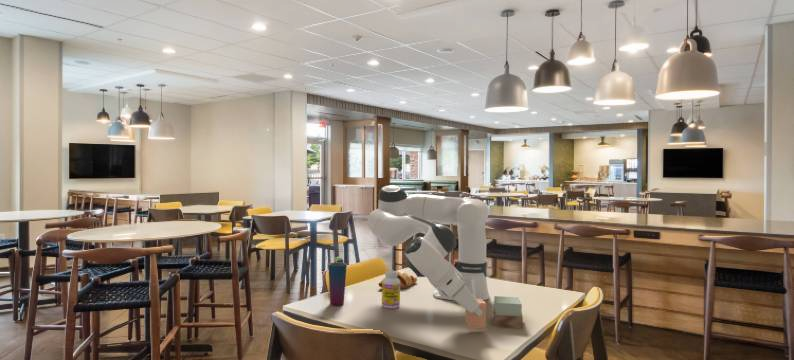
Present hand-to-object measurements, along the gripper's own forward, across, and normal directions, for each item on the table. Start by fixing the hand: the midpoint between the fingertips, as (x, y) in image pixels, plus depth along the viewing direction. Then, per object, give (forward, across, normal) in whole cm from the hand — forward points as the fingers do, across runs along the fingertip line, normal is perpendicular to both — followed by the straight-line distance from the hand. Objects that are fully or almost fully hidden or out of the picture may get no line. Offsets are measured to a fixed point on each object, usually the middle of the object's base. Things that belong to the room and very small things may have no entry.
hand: (477, 310), depth 140 cm
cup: (-27, -32, -36) cm, 55 cm away
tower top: (+11, -8, +7) cm, 15 cm away
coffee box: (-26, -53, -36) cm, 70 cm away
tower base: (+14, -8, +4) cm, 16 cm away
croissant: (-8, -56, -18) cm, 60 cm away
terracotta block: (+3, 0, -4) cm, 4 cm away
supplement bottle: (-12, -28, -22) cm, 38 cm away
